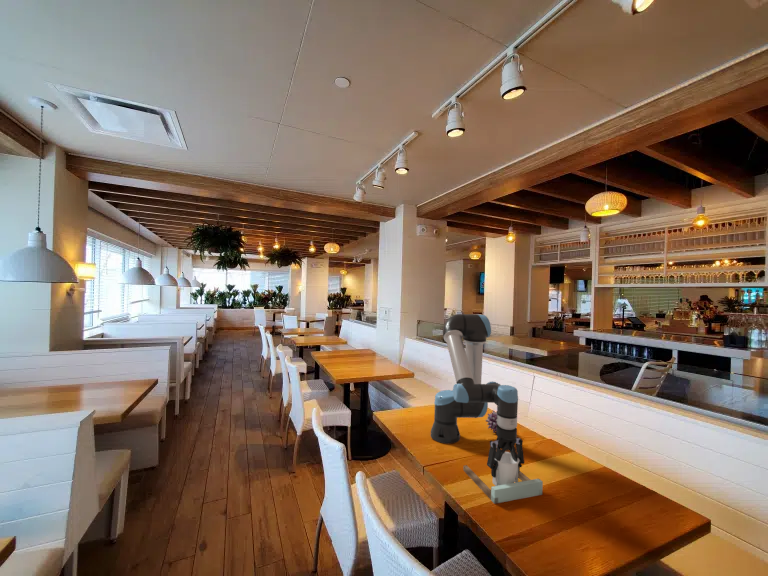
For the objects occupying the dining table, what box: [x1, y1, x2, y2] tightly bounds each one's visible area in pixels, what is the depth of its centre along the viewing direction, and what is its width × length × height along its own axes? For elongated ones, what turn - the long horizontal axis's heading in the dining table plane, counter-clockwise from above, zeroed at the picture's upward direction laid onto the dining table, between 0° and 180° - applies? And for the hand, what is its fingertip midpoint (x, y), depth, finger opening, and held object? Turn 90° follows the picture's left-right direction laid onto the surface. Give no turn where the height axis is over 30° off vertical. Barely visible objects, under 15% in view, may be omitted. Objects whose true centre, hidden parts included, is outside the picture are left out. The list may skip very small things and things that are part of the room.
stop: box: [490, 478, 544, 504], centre depth 122 cm, size 2×21×5 cm, turn 106°
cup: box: [495, 451, 519, 485], centre depth 128 cm, size 10×10×11 cm
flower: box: [485, 410, 498, 434], centre depth 176 cm, size 12×12×12 cm
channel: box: [462, 464, 543, 504], centre depth 131 cm, size 22×21×2 cm
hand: (505, 482), depth 128 cm, fingers closed on cup, 8 cm apart
